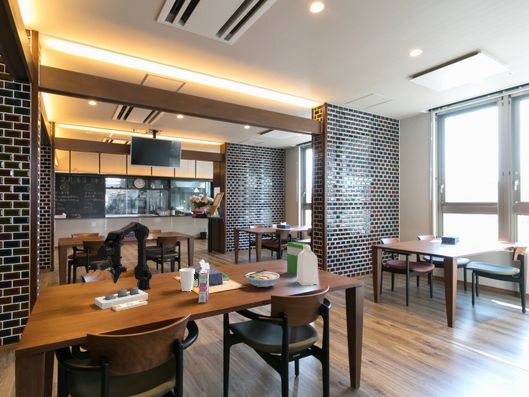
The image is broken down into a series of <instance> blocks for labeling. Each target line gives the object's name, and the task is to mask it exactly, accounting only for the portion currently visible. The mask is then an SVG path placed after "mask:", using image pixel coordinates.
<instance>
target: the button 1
mask: <svg viewBox="0 0 529 397" xmlns="http://www.w3.org/2000/svg"><path fill="white" fill-rule="evenodd" d="M104 296H105V300H111V299H114V295H113V294H108V295H104Z"/></svg>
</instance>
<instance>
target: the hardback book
mask: <svg viewBox="0 0 529 397" xmlns="http://www.w3.org/2000/svg"><path fill="white" fill-rule="evenodd" d="M286 244H287V245H286V246H287V247H286V273H287V272H289V273H288V274H290V273H292V274H291V275H294V274H295V276H297V262H298V255H299V253H300V252H301V251H302V250H303V249H304V248H305V245H309V246H310V244H309V243H303V242H298V241H290V242H288V241H287V243H286Z"/></svg>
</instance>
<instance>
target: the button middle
mask: <svg viewBox="0 0 529 397" xmlns="http://www.w3.org/2000/svg"><path fill="white" fill-rule="evenodd" d="M127 292H128V291H127V289H126V288H125V289H119V290H117V294H118V297H119V298H121V297H126V296H127Z"/></svg>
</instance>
